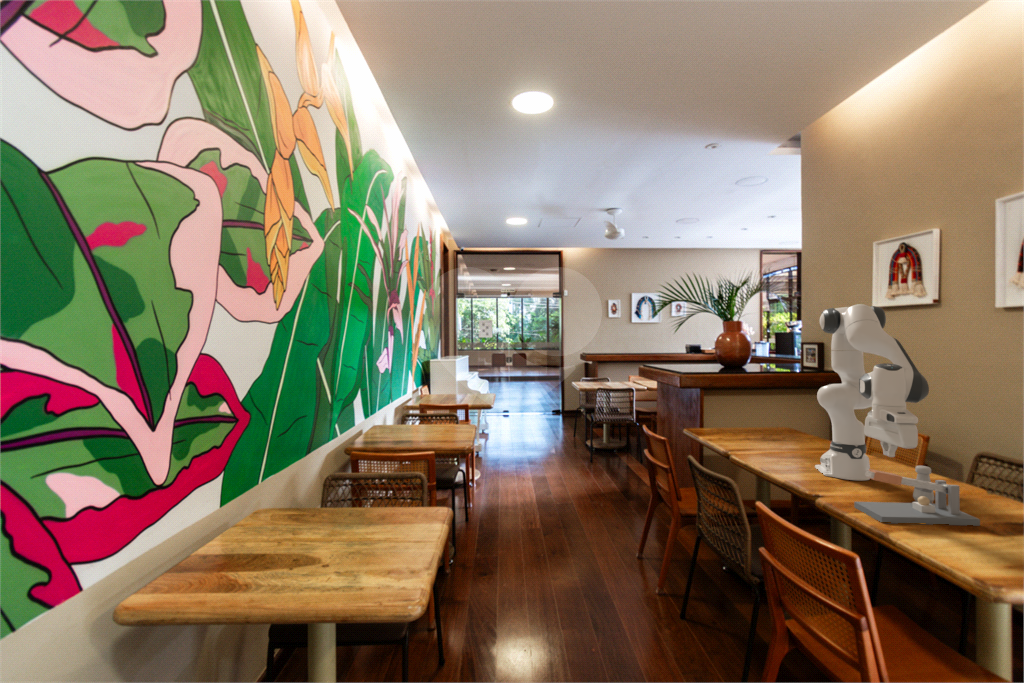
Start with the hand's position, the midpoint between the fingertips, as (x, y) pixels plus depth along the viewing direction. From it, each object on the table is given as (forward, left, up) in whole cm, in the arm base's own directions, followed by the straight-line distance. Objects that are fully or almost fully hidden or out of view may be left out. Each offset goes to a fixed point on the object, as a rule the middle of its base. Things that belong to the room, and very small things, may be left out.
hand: (889, 456), depth 155 cm
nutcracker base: (0, +7, -19) cm, 21 cm away
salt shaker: (-13, +19, -20) cm, 30 cm away
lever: (0, +6, -10) cm, 12 cm away
